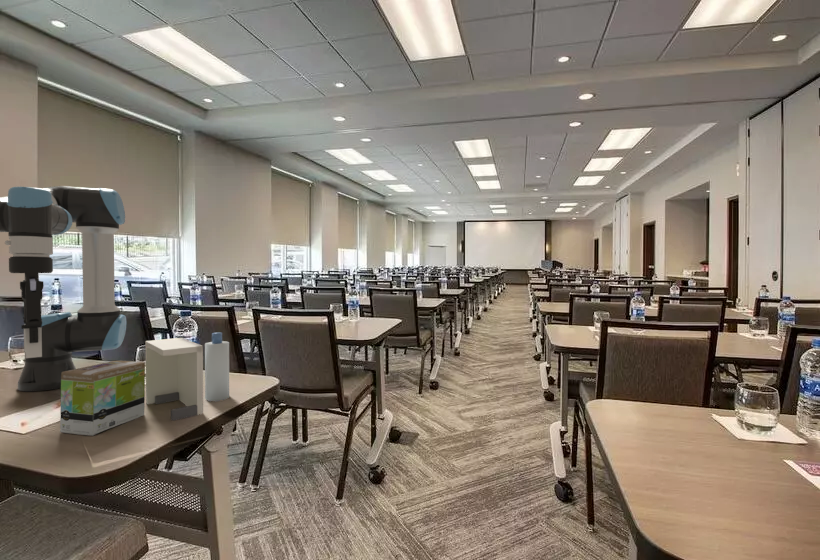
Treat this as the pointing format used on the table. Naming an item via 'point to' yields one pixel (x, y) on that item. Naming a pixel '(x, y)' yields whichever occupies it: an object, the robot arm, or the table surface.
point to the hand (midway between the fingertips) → (32, 354)
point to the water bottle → (216, 368)
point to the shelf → (175, 370)
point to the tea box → (101, 396)
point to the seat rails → (177, 412)
